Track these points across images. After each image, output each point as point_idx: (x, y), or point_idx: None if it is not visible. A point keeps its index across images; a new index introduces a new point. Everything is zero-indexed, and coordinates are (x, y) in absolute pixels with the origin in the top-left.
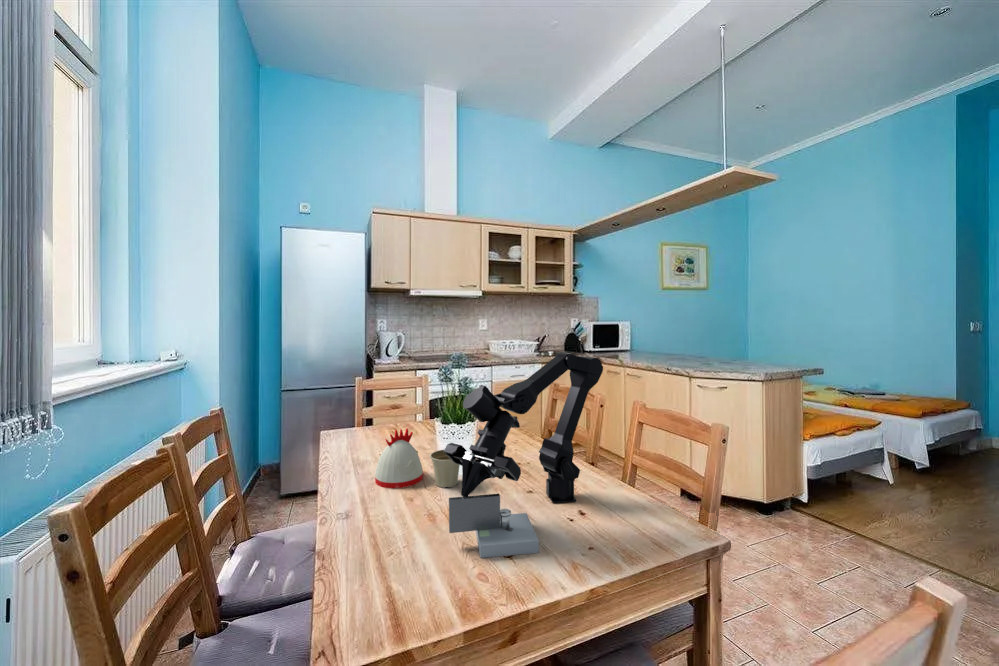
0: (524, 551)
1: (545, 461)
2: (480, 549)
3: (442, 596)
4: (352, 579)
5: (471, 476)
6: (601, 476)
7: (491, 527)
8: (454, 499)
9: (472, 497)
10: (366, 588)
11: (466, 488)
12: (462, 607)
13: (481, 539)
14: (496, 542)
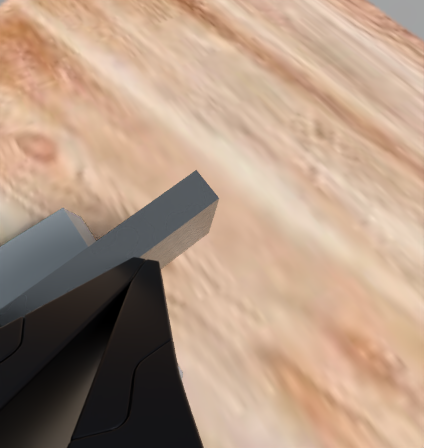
0: None
1: None
2: (68, 211)
3: (98, 54)
4: (318, 25)
5: (4, 345)
6: None
7: None
8: (172, 194)
9: (71, 274)
10: (268, 15)
11: (106, 276)
12: (38, 44)
13: (75, 243)
14: (15, 250)
